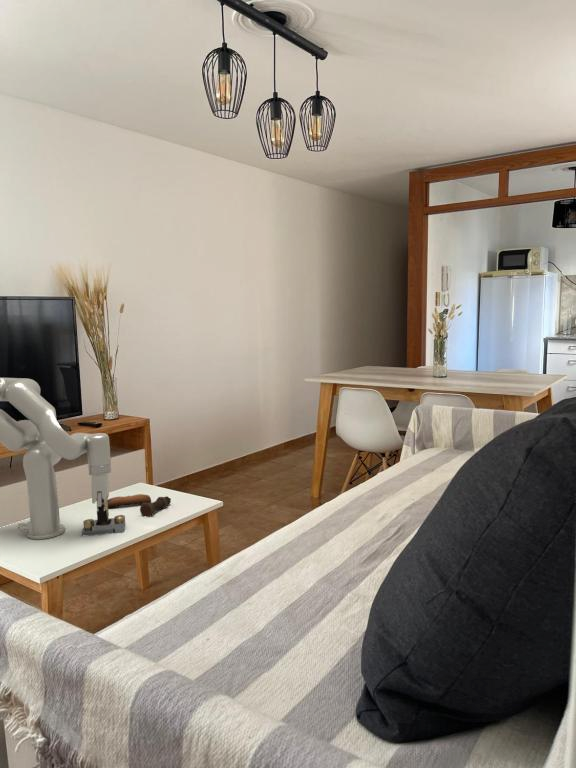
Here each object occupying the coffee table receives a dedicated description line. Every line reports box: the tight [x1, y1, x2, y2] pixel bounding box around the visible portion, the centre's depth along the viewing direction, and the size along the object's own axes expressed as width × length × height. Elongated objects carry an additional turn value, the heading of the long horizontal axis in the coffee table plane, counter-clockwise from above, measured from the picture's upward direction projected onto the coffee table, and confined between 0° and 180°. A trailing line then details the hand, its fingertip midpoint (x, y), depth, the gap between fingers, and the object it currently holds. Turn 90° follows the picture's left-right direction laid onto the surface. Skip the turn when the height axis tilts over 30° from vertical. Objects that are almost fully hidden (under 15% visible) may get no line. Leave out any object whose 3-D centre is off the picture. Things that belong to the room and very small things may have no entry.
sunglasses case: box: [107, 493, 152, 509], centre depth 235 cm, size 18×7×7 cm
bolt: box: [139, 495, 172, 518], centre depth 227 cm, size 6×5×15 cm
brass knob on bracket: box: [81, 514, 126, 537], centre depth 207 cm, size 14×7×4 cm, turn 101°
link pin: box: [96, 500, 110, 525], centre depth 206 cm, size 4×4×13 cm
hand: (103, 518), depth 207 cm, fingers open, 4 cm apart
